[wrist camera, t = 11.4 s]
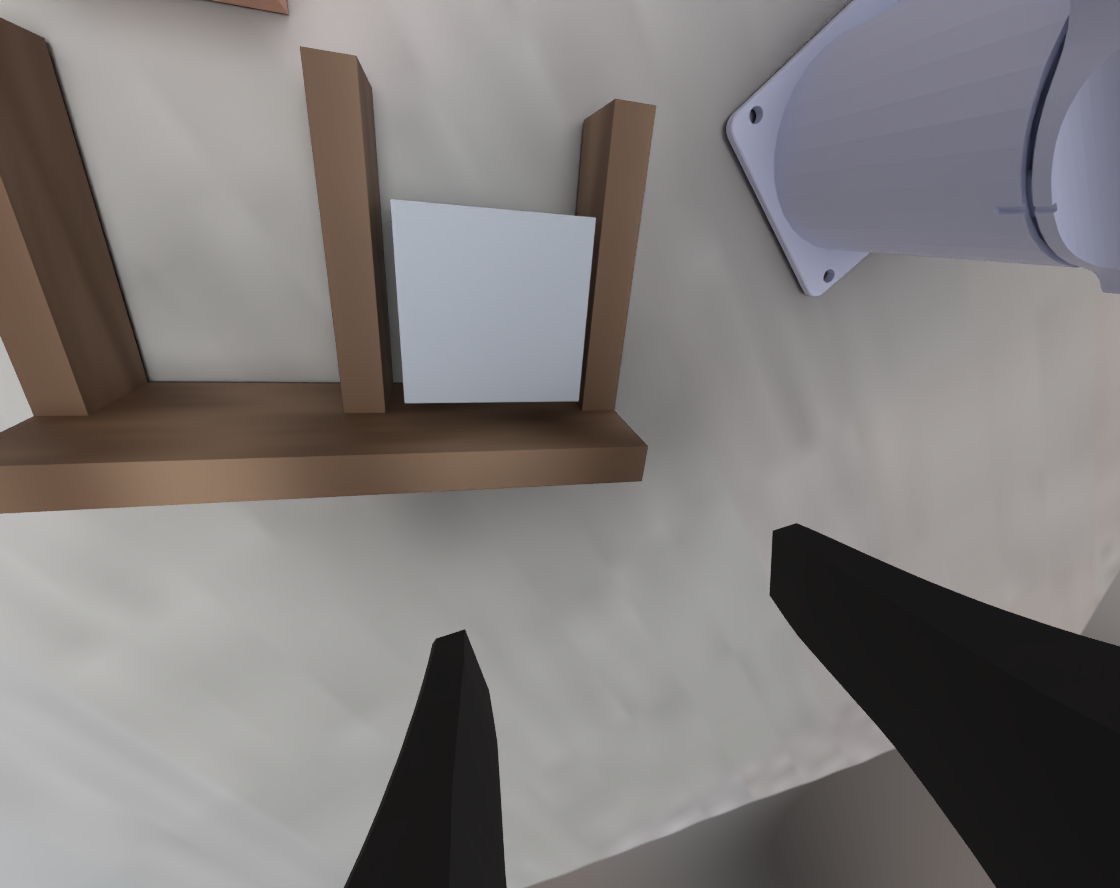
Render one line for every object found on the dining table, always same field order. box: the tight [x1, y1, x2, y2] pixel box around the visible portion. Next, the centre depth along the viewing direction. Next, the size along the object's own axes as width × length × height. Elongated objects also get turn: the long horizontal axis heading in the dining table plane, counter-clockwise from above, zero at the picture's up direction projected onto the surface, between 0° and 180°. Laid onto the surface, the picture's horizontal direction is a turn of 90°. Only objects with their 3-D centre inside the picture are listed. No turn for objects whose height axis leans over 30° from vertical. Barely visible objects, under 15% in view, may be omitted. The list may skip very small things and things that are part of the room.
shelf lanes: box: [0, 18, 656, 514], centre depth 13 cm, size 17×10×6 cm, turn 86°
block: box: [390, 199, 596, 403], centre depth 15 cm, size 5×5×5 cm
